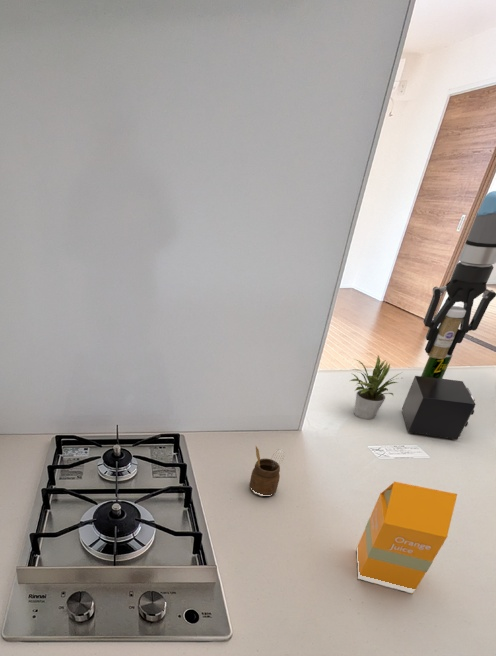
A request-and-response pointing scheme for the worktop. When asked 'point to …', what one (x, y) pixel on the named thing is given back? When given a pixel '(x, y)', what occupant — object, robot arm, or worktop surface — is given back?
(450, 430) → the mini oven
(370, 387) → the house plant
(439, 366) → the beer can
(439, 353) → the sprinkles bottle
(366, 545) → the orange juice
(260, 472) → the utensil holder
